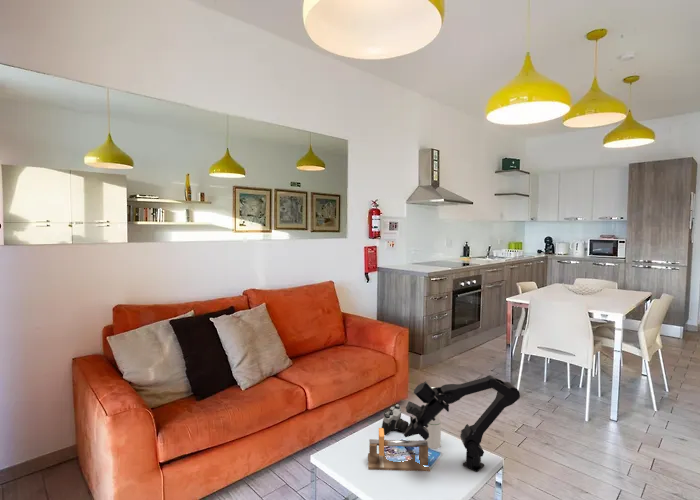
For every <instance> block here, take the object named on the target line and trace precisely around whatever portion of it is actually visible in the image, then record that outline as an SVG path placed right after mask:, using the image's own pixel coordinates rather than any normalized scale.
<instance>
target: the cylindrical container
mask: <svg viewBox="0 0 700 500" xmlns="http://www.w3.org/2000/svg"><path fill="white" fill-rule="evenodd" d="M430 387H431V388H436V387H435V386H430ZM426 404H427V403H424V405H426ZM424 427H425V426H424ZM425 428H426V427H425ZM426 429H427V430H428V432H429V438H428V439H427V440H424V441H427V442H428V449H429V448H430V449H434V450H436V449H440V447H441V445H442V444H441V442H442V439H441V438H442V437H441V435H442V411H441V412H440V413H439V414H438V415H437V416H436V417H435V420H434V421H433V420H432V421H430V422H429V423H428V427H427V428H426Z"/></svg>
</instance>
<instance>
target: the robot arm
mask: <svg viewBox="0 0 700 500" xmlns="http://www.w3.org/2000/svg"><path fill="white" fill-rule="evenodd" d="M431 387H432V386H431V385H430V384H428V382H427V381H423V382H422V383H420V384H418V385H417V386H416V387H415V388H414V391H413V394H414V395H415V396H416V397H417V398H418V399H419V400H420V401H421V402H422V403H424V404H422V405H421V406H420V405H418V404H416V403H414V402H413V401H409V400H408V402H407V404H406V406H405V412H406V413H407V414H410V416H409V417H410V418H409V421H410V422H409V426H408V428H407V430H406V431H405V432H403V437H405V438H409V437H411V436H412V437H413V436H416V435H419V436H420V437H421V438H422V439H423V441H425V440H427V439H428V438H429V432H428V430H427V429H426V428H427V427H428V423H429V422H430V421H432V420H433V421H434V420H435V417H436V416H437V415H438V414H439V413H440V412H441V413H442V411H443V410H445V411H446V412H447V413H449V412H450V410H449V408H450V405H451V404H454V403H455V402H458V401H460V400H461V399H462V398H463V397H465V396H469V395H472V394H476V393H478V392H483V391H486V390H489V389H493V390H494V391H496V392H497V393H496V395H495V398H494V399H493V401H492V402H491V404H490V405H489V406H488V407H487V408H486V409H485V410H484V411H483V413H482V414H481V415H480V416H479V418H478V419H477V420H476V421H475V422H474V423H473V424H472V425H469V424H468V423H467V424H466V425H465V426H464V427H463V429H461V430H460V435H459V436H460V440H461V443H462V445H463V447H464V448H465V450H466V454H465V455H466V456H465V461H464V462H462V465H463V466H464V467H466V468H468V469H470V470H472V471H474V472H476V473H477V472H479V471H480V470H481V469H482V468H483V467H484V466H485V464H484V463H482V457H483V456H484V454H485V451H484V449H483V448H482V446H481V442H482V441H483V440H482V439H483V436H484V433H486V431H487V430H488V429H489V428H490V426H492V424H493V422H495V420H496V419H497V418H498V417H499V415H500V414H501V413H502V412H503V410H504V409H506V408H507V407H509V406H513V405H514V404H515V403H516V402H517V401H518V400H519V399H520V397H521V394H520V391H519V389H518V388H517V387H516V386H515V384H513V383H512V382H510V381H503V380H502V379H499V378H497V377H494V375H486V376H485V377H481V378H480V377H479V378H478V379H474V380H470V381H467V382H463V383H456V384H455V383H446V384H443V385H441V386H438V387H435V388H431ZM425 403H427V404H426V405H425ZM425 427H426V428H425Z"/></svg>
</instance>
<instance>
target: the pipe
mask: <svg viewBox="0 0 700 500" xmlns="http://www.w3.org/2000/svg"><path fill="white" fill-rule="evenodd" d="M370 444H377V447H379V439H377V440H370ZM420 445H427V446H428V442H427V441H425V440H405V439H404V440H399V439H397V440H396V439H384V447H409V448H410V447H411V448H412V447H417V448H419V447H420Z"/></svg>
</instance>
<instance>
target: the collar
mask: <svg viewBox="0 0 700 500" xmlns="http://www.w3.org/2000/svg"><path fill="white" fill-rule="evenodd" d="M378 440H379V446H378V454H379V456H384V454H385V446H384V440H385V435H384V428H382V427H378Z"/></svg>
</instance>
